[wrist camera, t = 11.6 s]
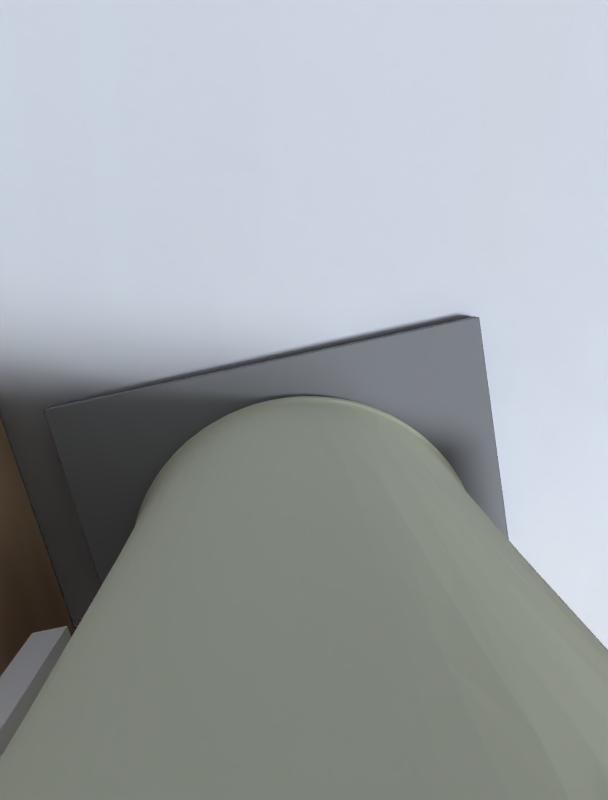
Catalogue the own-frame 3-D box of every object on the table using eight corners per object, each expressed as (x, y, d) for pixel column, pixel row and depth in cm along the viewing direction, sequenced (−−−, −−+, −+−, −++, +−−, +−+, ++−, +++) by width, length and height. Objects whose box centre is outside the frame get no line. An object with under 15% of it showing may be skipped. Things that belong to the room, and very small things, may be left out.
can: (428, 347, 13) (1601, 859, 2) (507, 652, 15) (1267, 1877, 4) (78, 458, 13) (-1310, 1688, 2) (202, 744, 15) (-32, 2197, 4)
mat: (50, 406, 13) (43, 410, 13) (473, 316, 14) (479, 317, 13) (164, 755, 16) (161, 767, 16) (522, 678, 16) (528, 688, 16)
